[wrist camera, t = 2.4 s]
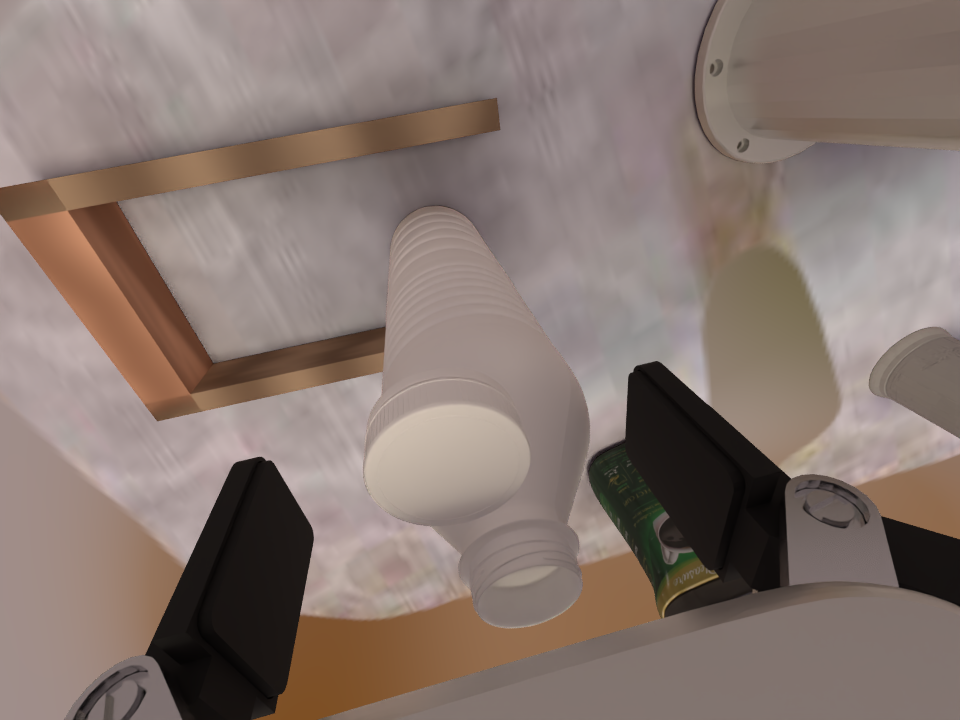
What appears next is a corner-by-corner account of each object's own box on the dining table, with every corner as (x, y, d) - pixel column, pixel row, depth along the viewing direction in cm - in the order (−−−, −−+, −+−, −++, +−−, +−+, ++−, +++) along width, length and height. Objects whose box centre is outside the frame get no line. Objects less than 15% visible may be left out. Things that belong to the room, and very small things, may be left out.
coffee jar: (595, 500, 47) (693, 694, 31) (579, 456, 43) (684, 654, 27) (674, 469, 46) (814, 649, 31) (666, 421, 42) (825, 602, 26)
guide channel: (483, 100, 25) (496, 97, 22) (510, 317, 33) (523, 340, 30) (43, 180, 23) (-18, 191, 20) (183, 388, 31) (157, 421, 28)
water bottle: (493, 274, 31) (697, 618, 10) (414, 307, 31) (446, 711, 10) (448, 154, 26) (652, 314, 5) (356, 195, 27) (188, 505, 5)
